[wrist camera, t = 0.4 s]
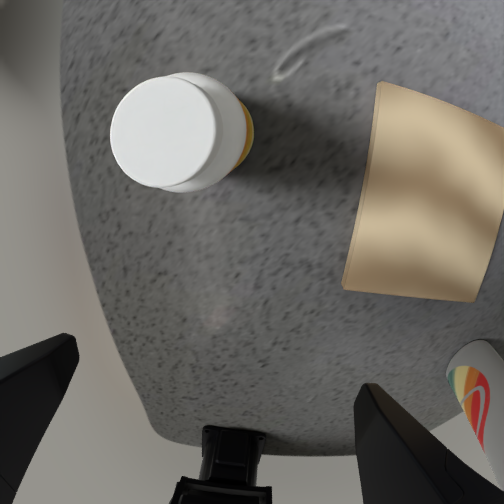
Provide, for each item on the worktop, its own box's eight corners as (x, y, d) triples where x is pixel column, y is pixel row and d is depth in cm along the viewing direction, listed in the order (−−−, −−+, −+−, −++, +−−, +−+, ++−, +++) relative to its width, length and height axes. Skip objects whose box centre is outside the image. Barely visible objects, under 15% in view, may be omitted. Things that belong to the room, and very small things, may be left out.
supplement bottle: (241, 81, 17) (213, 34, 8) (265, 161, 19) (259, 182, 10) (161, 108, 18) (78, 94, 9) (185, 184, 20) (119, 225, 11)
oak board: (468, 297, 22) (474, 302, 21) (341, 282, 22) (343, 289, 21) (508, 133, 17) (516, 134, 16) (377, 83, 17) (382, 81, 16)
